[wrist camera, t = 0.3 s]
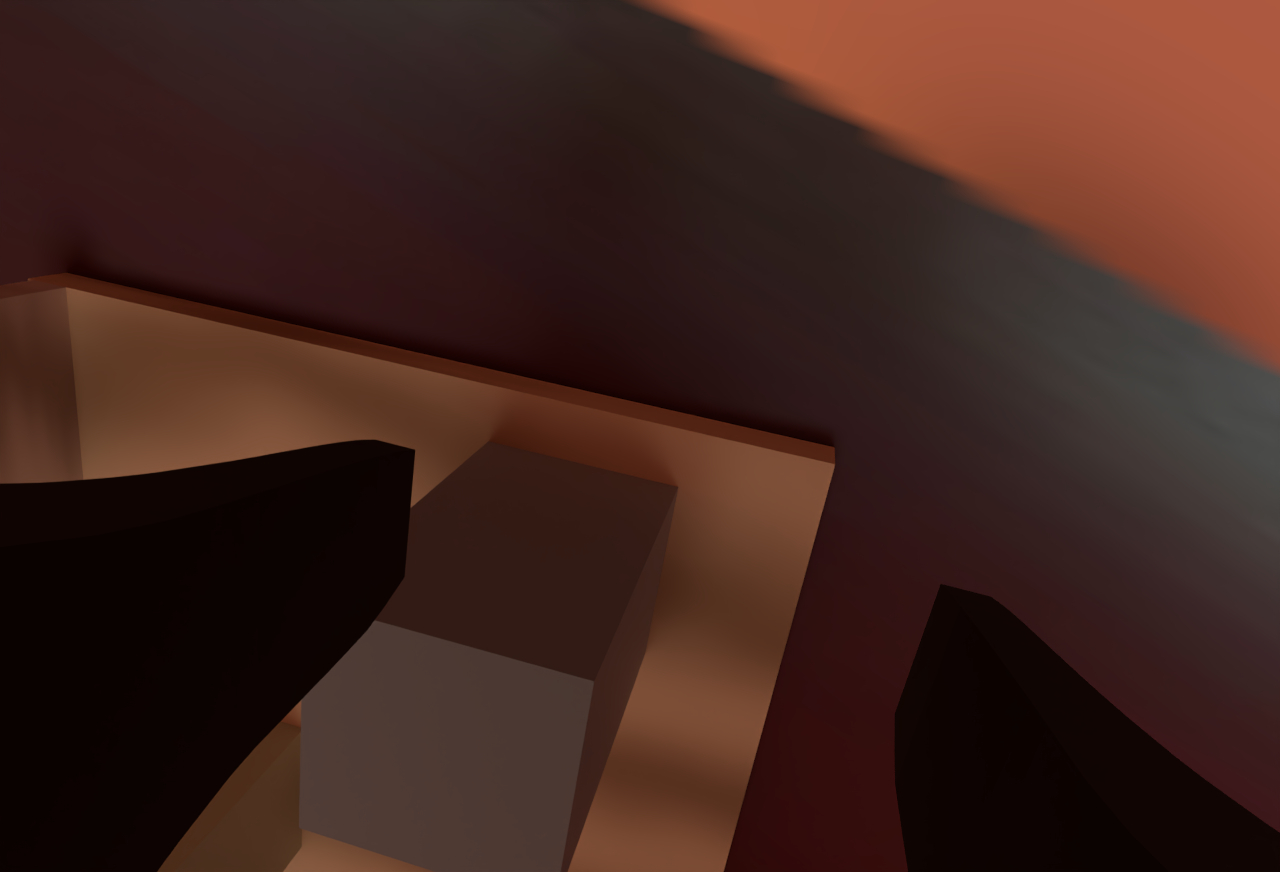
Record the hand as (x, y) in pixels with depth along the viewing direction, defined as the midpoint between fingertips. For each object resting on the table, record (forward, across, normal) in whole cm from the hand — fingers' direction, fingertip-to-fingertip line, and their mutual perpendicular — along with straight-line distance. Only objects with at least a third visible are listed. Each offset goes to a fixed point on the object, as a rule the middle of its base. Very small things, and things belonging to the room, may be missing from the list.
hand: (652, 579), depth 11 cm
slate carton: (+9, +3, +5) cm, 11 cm away
